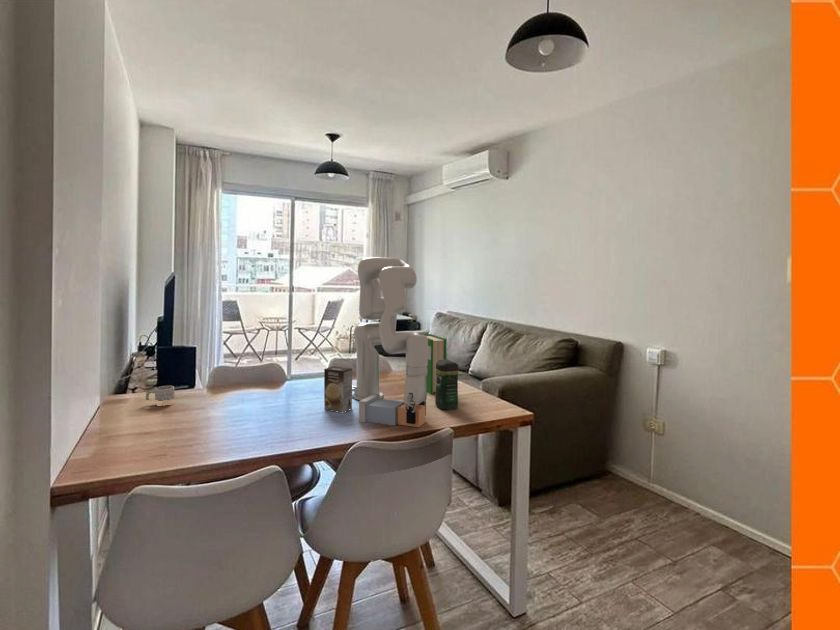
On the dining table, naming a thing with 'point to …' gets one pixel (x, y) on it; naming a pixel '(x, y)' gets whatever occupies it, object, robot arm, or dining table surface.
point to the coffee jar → (446, 384)
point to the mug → (162, 393)
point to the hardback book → (434, 358)
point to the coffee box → (338, 388)
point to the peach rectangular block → (419, 415)
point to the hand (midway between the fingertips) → (416, 419)
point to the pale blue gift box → (379, 410)
